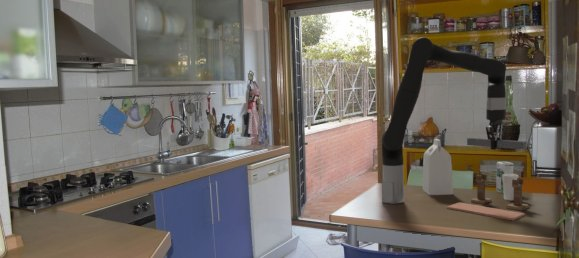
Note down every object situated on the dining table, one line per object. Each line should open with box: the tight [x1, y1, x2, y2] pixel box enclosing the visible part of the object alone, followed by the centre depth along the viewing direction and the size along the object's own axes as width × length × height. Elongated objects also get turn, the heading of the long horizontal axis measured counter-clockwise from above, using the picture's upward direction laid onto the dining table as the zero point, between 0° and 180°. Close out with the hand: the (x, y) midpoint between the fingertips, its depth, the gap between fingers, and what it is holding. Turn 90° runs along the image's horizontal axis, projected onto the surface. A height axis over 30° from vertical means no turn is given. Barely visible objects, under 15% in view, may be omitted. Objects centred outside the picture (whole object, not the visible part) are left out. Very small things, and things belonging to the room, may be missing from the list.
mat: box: [446, 202, 525, 222], centre depth 196 cm, size 10×28×1 cm, turn 41°
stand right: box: [506, 177, 530, 212], centre depth 200 cm, size 7×6×12 cm
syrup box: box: [495, 161, 515, 194], centre depth 229 cm, size 6×6×14 cm
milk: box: [422, 138, 454, 196], centre depth 233 cm, size 12×12×26 cm
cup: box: [502, 173, 519, 201], centre depth 215 cm, size 7×7×11 cm
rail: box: [466, 137, 527, 150], centre depth 202 cm, size 3×24×3 cm, turn 42°
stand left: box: [470, 173, 493, 205], centre depth 212 cm, size 7×6×12 cm
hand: (495, 148), depth 202 cm, fingers closed on rail, 3 cm apart
